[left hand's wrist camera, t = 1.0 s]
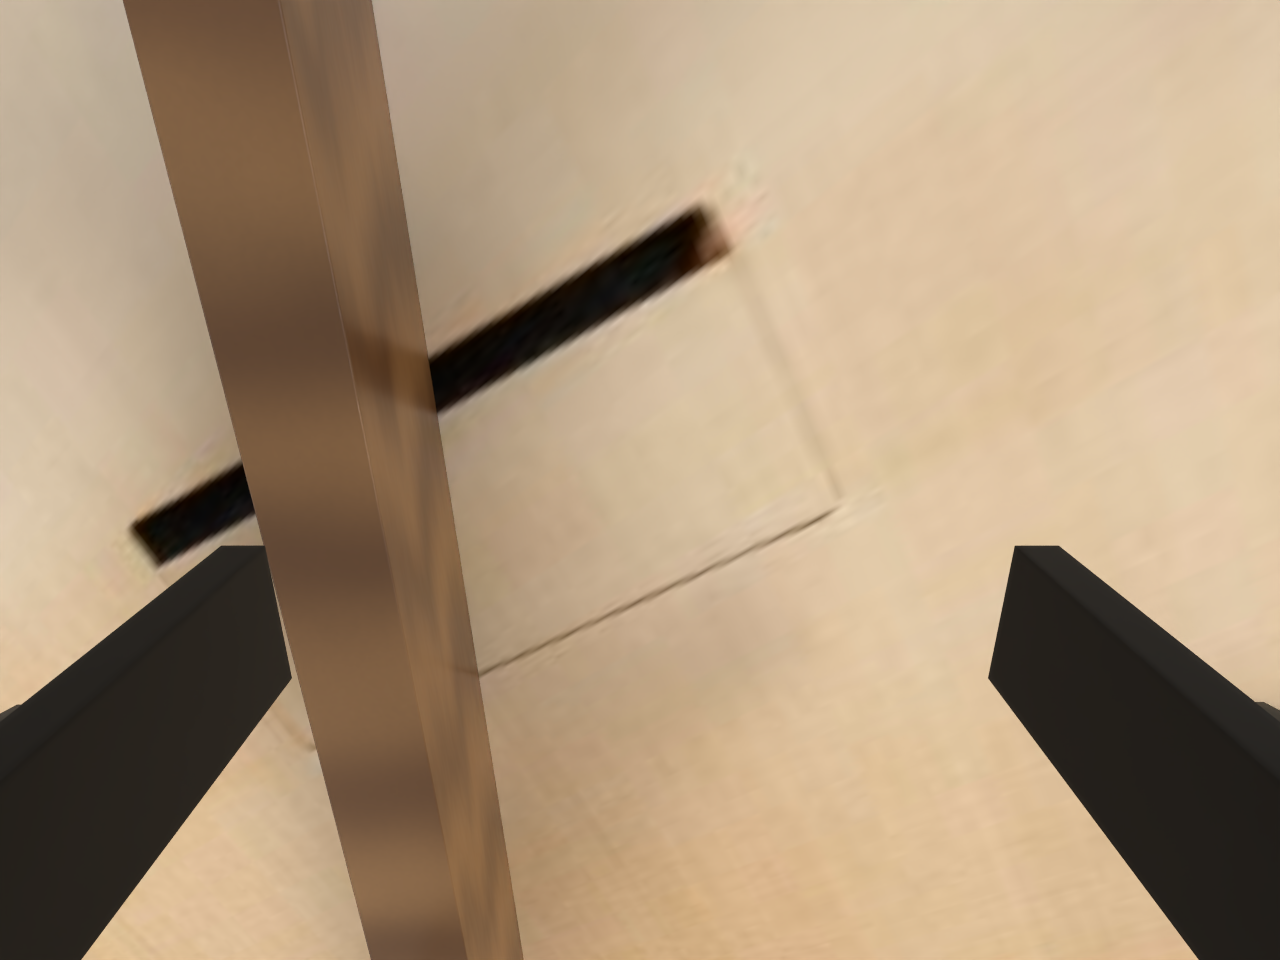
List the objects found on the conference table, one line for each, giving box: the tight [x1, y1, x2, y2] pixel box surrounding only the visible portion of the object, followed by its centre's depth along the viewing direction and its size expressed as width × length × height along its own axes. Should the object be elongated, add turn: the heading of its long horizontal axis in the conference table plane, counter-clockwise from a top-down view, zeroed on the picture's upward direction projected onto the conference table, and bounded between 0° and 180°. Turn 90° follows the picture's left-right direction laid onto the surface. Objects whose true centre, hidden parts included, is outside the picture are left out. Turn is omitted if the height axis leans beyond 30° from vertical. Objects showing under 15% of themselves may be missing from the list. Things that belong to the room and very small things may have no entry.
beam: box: [123, 0, 523, 960], centre depth 34 cm, size 69×4×9 cm, turn 3°
